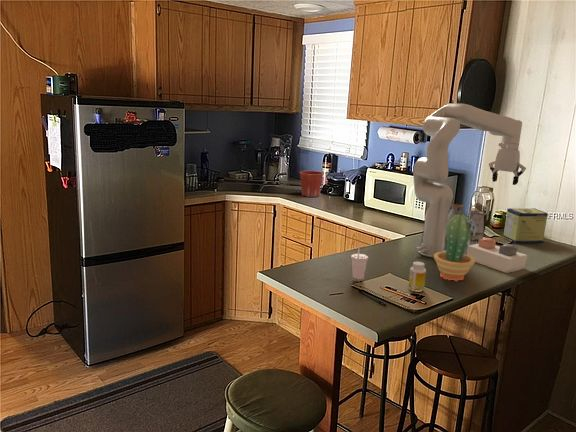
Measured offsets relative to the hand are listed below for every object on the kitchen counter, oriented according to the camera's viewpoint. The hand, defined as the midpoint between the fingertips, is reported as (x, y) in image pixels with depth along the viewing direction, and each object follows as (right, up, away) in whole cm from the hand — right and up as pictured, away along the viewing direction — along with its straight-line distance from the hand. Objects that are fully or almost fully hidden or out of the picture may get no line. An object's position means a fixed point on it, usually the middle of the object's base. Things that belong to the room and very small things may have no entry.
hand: (504, 182), depth 231 cm
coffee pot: (-14, -24, +28) cm, 39 cm away
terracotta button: (-17, -32, -20) cm, 41 cm away
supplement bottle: (-56, -43, -55) cm, 89 cm away
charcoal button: (-12, -34, -28) cm, 45 cm away
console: (-14, -36, -23) cm, 45 cm away
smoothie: (-76, -40, -48) cm, 99 cm away
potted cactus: (-39, -40, -40) cm, 68 cm away
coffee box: (-13, -30, +3) cm, 33 cm away
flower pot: (-87, -2, +105) cm, 137 cm away
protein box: (+15, -28, +14) cm, 35 cm away
